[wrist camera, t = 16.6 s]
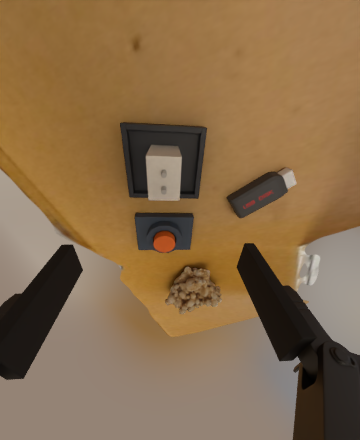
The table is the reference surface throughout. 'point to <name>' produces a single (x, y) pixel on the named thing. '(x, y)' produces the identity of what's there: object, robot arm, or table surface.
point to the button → (164, 241)
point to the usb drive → (261, 192)
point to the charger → (163, 172)
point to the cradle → (171, 136)
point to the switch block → (164, 229)
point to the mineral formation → (193, 290)
